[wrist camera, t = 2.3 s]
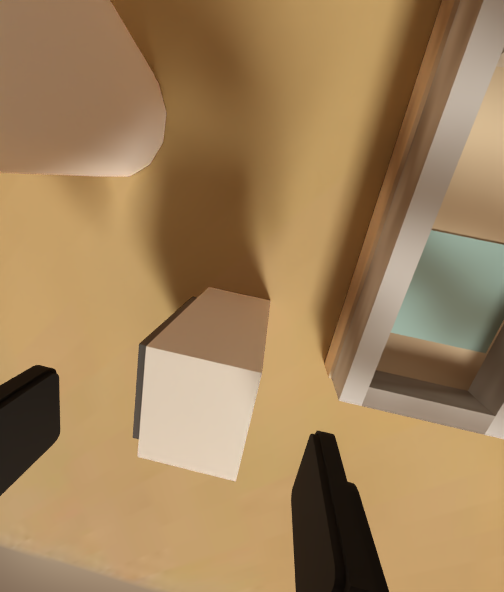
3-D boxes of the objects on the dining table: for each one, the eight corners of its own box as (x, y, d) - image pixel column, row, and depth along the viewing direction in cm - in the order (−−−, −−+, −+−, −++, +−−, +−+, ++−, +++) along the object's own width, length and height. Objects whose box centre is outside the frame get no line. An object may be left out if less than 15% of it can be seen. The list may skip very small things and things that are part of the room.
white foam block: (191, 353, 18) (125, 453, 10) (201, 285, 16) (131, 342, 9) (254, 368, 18) (235, 481, 10) (270, 300, 16) (261, 373, 8)
